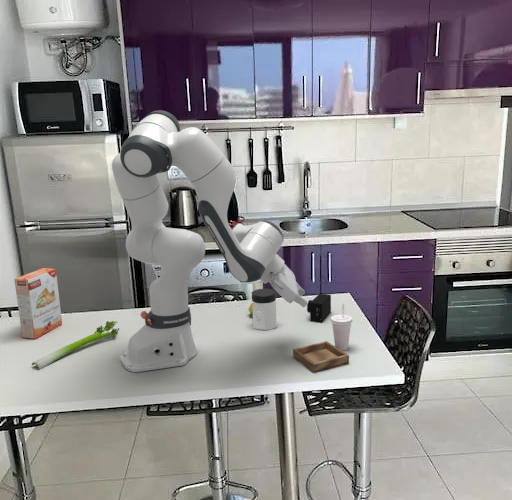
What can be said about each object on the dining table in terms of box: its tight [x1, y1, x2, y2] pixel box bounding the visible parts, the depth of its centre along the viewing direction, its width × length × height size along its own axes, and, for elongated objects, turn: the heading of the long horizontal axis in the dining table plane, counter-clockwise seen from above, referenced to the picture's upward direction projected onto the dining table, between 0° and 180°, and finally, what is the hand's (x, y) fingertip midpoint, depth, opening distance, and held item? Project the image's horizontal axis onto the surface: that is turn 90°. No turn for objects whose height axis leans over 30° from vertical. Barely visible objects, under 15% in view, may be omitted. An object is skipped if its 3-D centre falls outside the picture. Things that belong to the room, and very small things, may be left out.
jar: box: [251, 288, 277, 331], centre depth 180 cm, size 9×8×12 cm
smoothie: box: [330, 303, 353, 352], centre depth 160 cm, size 6×6×14 cm
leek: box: [31, 320, 120, 371], centre depth 167 cm, size 6×7×30 cm
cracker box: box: [13, 267, 63, 340], centre depth 182 cm, size 14×6×21 cm, turn 161°
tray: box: [292, 341, 350, 374], centre depth 154 cm, size 12×12×2 cm
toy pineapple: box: [248, 303, 253, 316], centre depth 191 cm, size 7×10×5 cm
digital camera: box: [306, 293, 332, 324], centre depth 187 cm, size 10×5×7 cm, turn 155°
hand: (304, 299), depth 157 cm, fingers open, 8 cm apart
